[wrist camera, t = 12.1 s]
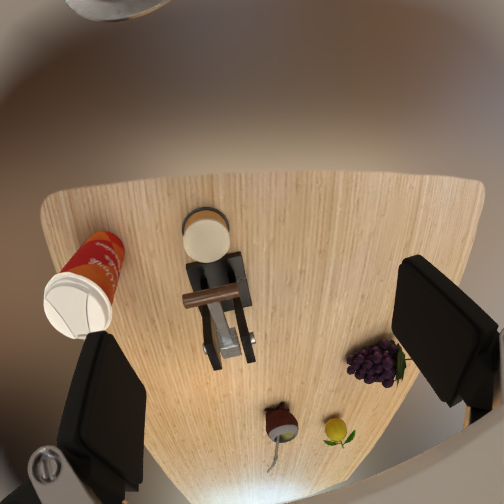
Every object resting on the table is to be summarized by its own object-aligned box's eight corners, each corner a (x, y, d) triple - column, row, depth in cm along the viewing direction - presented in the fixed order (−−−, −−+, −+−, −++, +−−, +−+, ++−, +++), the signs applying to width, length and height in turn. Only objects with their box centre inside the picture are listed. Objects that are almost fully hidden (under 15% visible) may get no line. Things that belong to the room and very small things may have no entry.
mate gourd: (297, 401, 64) (315, 456, 51) (281, 420, 67) (297, 471, 54) (267, 399, 62) (283, 457, 48) (253, 418, 64) (266, 473, 51)
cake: (176, 213, 40) (175, 224, 37) (223, 202, 41) (226, 212, 37) (188, 254, 43) (188, 269, 40) (233, 244, 44) (236, 258, 40)
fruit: (344, 334, 60) (410, 326, 58) (342, 372, 64) (404, 364, 62) (351, 366, 51) (426, 354, 49) (348, 404, 54) (416, 393, 52)
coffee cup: (137, 272, 43) (119, 342, 30) (88, 277, 42) (56, 344, 29) (125, 218, 39) (95, 275, 26) (73, 226, 38) (28, 282, 25)
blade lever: (181, 287, 27) (183, 308, 26) (234, 274, 28) (239, 296, 26) (209, 344, 36) (212, 361, 35) (249, 335, 37) (253, 352, 35)
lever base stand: (185, 264, 44) (184, 333, 31) (240, 251, 44) (259, 316, 31) (201, 312, 48) (206, 384, 35) (250, 301, 49) (271, 370, 36)
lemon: (346, 409, 70) (359, 439, 61) (339, 421, 73) (351, 450, 64) (323, 414, 69) (335, 445, 60) (317, 425, 71) (328, 455, 63)
